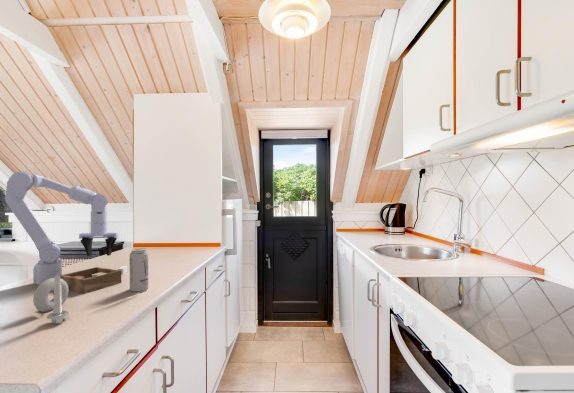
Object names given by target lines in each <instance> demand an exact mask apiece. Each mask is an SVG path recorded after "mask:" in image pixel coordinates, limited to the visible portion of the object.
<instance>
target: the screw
mask: <svg viewBox="0 0 574 393" xmlns="http://www.w3.org/2000/svg"><path fill="white" fill-rule="evenodd" d="M53 288H54V289H53V298H52V299H54V300H53V301H54V310H53V311H52V312H50V313H49V314H48V315H46V319H47V320H51V325H58V324H61V323H64V321H65V319H64V318H65V317H67V316H69V315H70V314H69V311H68V310H62V309H63V305H62V304H61V303H62V302H61V301H62V300H61V299H62V298H61V297H62V295H61V294H62V293H61V292H62V291H61V290H62V289H61V288H62V287H61V283H60V276H59V275H56V276H55V277H54V287H53ZM61 305H62V306H61Z"/></svg>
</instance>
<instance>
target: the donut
mask: <svg viewBox="0 0 574 393" xmlns="http://www.w3.org/2000/svg"><path fill="white" fill-rule="evenodd" d="M60 283H61V287H62V288H61V289H62V290H61V291H62V292H61V293H62V294H61V295H62V297H61V298H62V299H61V300H62V301H61V302H62V303H61V304H62V305H61V306H62V307H63V305H64V304H65V302H66V300H67V299H68V296H69V289H68V285H67V283H66V282H65V281H64V280H63V279H60ZM53 287H54V278H50V279H48V280H45V281H44V282H43V283H41V284H40V285H38V287H37V288H36V289H35V291H34V294H33V300H32V301H33V305H34V307H35V309H36V310H38V311H39V312H41V313H49V312H53V311H54V301H53V300H54V299H53V298H52V299H50V300H49V294H50V293H51V292H52V291H53V290H54V288H53Z"/></svg>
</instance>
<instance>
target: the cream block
mask: <svg viewBox="0 0 574 393" xmlns="http://www.w3.org/2000/svg"><path fill="white" fill-rule="evenodd" d="M103 274H107V273H104V272H101V273H96V274H92V277H96V276H99V275H103Z"/></svg>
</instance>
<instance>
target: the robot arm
mask: <svg viewBox="0 0 574 393" xmlns="http://www.w3.org/2000/svg"><path fill="white" fill-rule="evenodd" d="M32 187H34V188H48V189H50V190H54V191H57V192H61V193H64V194H66V195H68V197H69V199H70V200H72V201H76V202H78V203H82V204H84V205H90V206H91V210H90V232H86V233H79V234H78V239H80V243H81V244H82V246H83V248H84V250H85V253H86V255H87V257H91V256H92V253H93V252H92V251H93V250H92V249H93V240H94V239H104V241H105V244H106V246H105V247H106V256H111V255H112V251H113V248H114V245H115V243H116V241H117V239H118V238H119V232H108V221H107V220H108V219H107V218H108V217H107V216H108V211H107V210H108V209H107V205H108V202H109V200H108V198H107V197H106V196H105V194H101V193H97V191H96V190H90V189H87V188H85V186H83V185H80V186H79V185H75V186H74V185H73V186H70V185H67V184H64V183H61V182H58V181H56V180H54V179H52V178H48V177H46V176H41V175H39V174H38V175H37V174H34V173H31V174H30V173H28V172H26V171H17V172H14V173H13V174H12V175H11V176H10V177H9V178H8V180H7V182H6V190H5V196H4V201H5V203H6V205H7V207H9V209H10V210H11V212H12V213H13V215H14V216H15V218H16V219H17V221H19V223H20V225H21V226H22V227H23V229H24V231H25V232H26V233H27V234H28V237H30V240H32V242H33V244H34V245H35V248H36V249H37V251H38V257H39V260H38V262H37V263H36V264H35V265H34V267H33V269H32V271H33V273H32V274H33V275H32V277H33V278H32V279H33V280H32V281H33V284H34V285H38V286H39V285H40V284H41V283H43V282H44V281H45V280H48V279H50V278H54V277H55V276H56V275H59V276H60V275H63V259H62V258H60V256H61V247H60V246H59V245H58V244H57V243H54V242H53V240H52V239H51V237H49V236H48V234H47V233H46V230H44V228H43V226H42V225H41V223H40V222H39V221H38V219H37V218H36V217H35V215H34V213H33V211H32V210H31V209H30V207H29V206H28V204H27V203H26V202H25V197H26V195H27V193H28V191H29V190H31V188H32Z"/></svg>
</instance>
